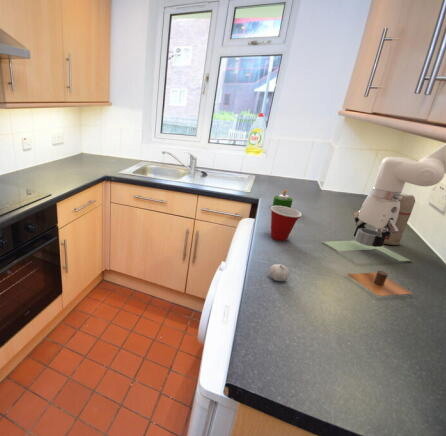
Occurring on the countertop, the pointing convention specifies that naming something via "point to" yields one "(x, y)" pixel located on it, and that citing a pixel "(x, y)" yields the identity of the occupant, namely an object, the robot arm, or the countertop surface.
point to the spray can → (401, 218)
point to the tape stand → (379, 283)
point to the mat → (361, 248)
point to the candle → (282, 200)
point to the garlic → (279, 272)
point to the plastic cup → (282, 221)
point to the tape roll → (366, 236)
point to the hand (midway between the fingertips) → (367, 240)
